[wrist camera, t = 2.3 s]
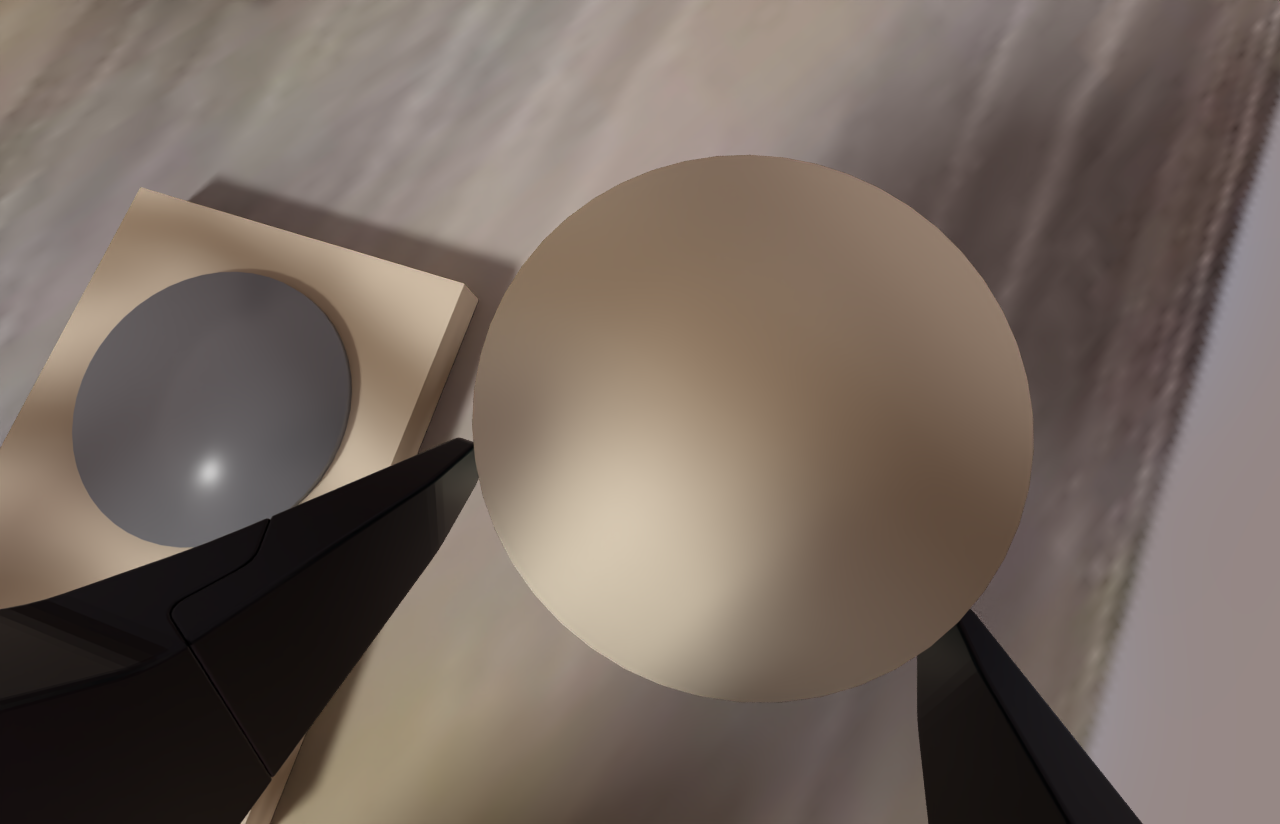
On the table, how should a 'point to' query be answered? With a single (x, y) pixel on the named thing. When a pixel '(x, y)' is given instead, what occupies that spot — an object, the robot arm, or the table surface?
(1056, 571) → the table surface
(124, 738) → the robot arm
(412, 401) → the stand board
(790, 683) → the bobbin
